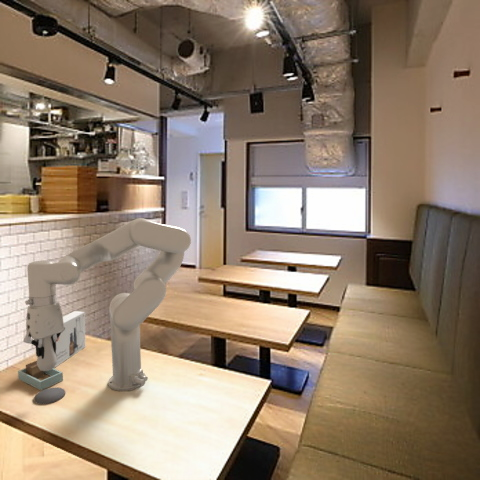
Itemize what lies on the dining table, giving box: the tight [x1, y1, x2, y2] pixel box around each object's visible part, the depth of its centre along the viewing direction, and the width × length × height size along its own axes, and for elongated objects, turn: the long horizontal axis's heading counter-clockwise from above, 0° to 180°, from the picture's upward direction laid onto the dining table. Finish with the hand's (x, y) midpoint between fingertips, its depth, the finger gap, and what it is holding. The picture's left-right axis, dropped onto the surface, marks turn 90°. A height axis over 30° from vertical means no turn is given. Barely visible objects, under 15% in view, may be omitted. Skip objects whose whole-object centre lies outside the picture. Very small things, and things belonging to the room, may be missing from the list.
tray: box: [17, 367, 64, 391], centre depth 133 cm, size 14×8×3 cm, turn 58°
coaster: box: [33, 387, 66, 405], centre depth 123 cm, size 9×9×1 cm
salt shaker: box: [36, 335, 57, 371], centre depth 121 cm, size 6×6×13 cm
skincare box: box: [54, 310, 86, 369], centre depth 150 cm, size 21×5×16 cm, turn 168°
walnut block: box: [25, 360, 45, 380], centre depth 135 cm, size 4×4×5 cm
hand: (46, 355), depth 121 cm, fingers closed on salt shaker, 3 cm apart
